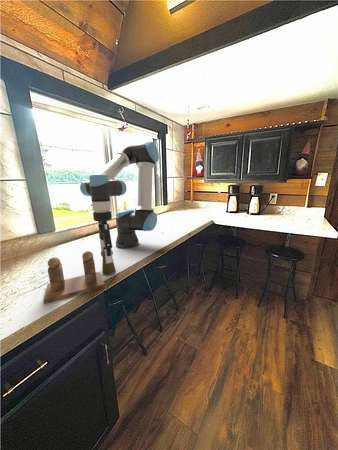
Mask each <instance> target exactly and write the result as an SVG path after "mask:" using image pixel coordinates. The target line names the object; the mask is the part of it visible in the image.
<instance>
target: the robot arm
mask: <svg viewBox="0 0 338 450" xmlns="http://www.w3.org/2000/svg"><path fill="white" fill-rule="evenodd" d="M159 159H160V153H159V149H158V146H157V145H156V144H155V142H153V141H144V142H136V143H130V144H127V145H125V146H124V147H122V148H121V149H119V151H117V152H116V153H115V154H114V158H113V159H112V160H110V161H109V162H108V163H107V164H106V165H104V167H103V168H102V169H101V170H100V171H99V172H97V173H92V174H90V175H89V177H88V180H83V181H82V182H81V183H80V184H79V189H80V190H79V191H80V192H81V194H82V195H83V196H86V197H90V198H91V204H90V207H92V216H93V221H95V222H98V224H97V226H98V227H97V228H98V237H99V242H100V243H99V244H100V250H101V251H102V250H103V249H105V258H106V263H111V262H114V259H113V255H112V251H113V249H112V248H113V243H112V237H111V230H110V224H109V223H108V221H111V220H112V202H111V197H120V196H123V195H126V193H127V184H126V183H125V182H124V180H121V179H115V178H116V177H117V176H118V175H119V173H120V172H121V171H123V169H124V168H127V167H129V166H130V165H132V164H136V166H137V169H138V172H137V173H138V174H137V175H138V176H137V177H138V179H137V206H136V208H135V209H124V210H121V211H117V212H116V213H115V223H116V231H117V235H116V240H115V246H116V247H117V248H118V249H129V248H134V247H137V246H138V245H139V244H140V243H139V241H140V240H139V237H138V235H137V233H136V231H142V232H152V231H153V230H154V229H155V228H156V227H157V222H158V216H157V213H156V212H155V210H154V208H153V207H152V203H153V198H152V197H153V169H154V168H155V167H156V163H157V162H159ZM101 251H100V252H101Z"/></svg>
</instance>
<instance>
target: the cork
mask: <svg viewBox="0 0 338 450" xmlns="http://www.w3.org/2000/svg"><path fill="white" fill-rule="evenodd" d="M113 253H114V251H113V250H112V256H113V255H114V254H113ZM100 255H101V257H102V267H101V268H102V270H101V271H102V272H101V274H102V275H108V276H109V275H112V274H114V273H116V266H115V262H114V261H113V262H111V263H106V258H105V249H103V250H102V251H100Z"/></svg>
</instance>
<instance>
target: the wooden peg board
mask: <svg viewBox="0 0 338 450" xmlns="http://www.w3.org/2000/svg"><path fill="white" fill-rule="evenodd" d="M81 258H82V265H83V266H82V267H83V273H84V274H83V275H79V276H75V277H71V278H68V279H67V278H66V279H65V276H64V271H63V265H62V262H61V259H60V258H58V257H55V256H54V257H53V256H52V257H51V258H49V259H48V261H47V266H48V267H47V275H48V278H49V279H48V280H49V283H47V284H46V288H45V293H44V297H43V304H49V303H52V302H56V301H59V300H64V299H66V298H71V297H75V296H78V295H82V294H85V293H89V292H92V291H93V292H94V291H97V290H99V289H100V290H101V289H103V288H105V283H104V280H103V276H102V272H101V271H97V270H96V263H95V259H94V254H93V252H91V251H89V250H88V251H84V252H83V253H82V255H81Z"/></svg>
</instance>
